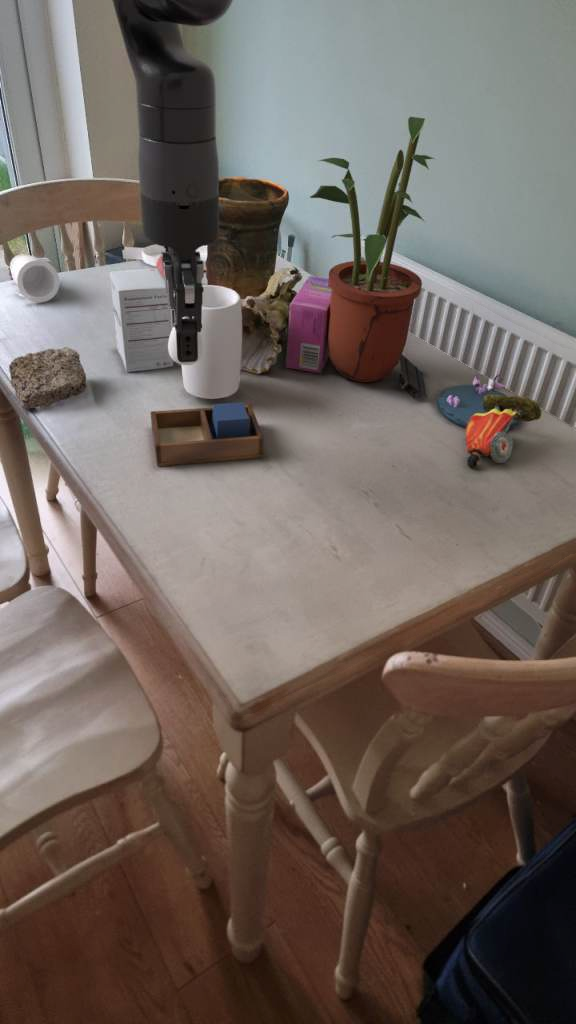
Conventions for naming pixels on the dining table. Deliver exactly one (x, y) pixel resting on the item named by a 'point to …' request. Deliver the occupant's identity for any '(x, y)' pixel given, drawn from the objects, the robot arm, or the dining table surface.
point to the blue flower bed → (467, 401)
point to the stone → (47, 377)
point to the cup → (217, 346)
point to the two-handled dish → (155, 254)
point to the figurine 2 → (497, 427)
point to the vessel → (246, 235)
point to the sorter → (200, 438)
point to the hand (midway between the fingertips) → (185, 350)
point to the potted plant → (373, 278)
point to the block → (230, 420)
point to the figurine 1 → (267, 321)
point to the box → (309, 326)
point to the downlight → (34, 277)
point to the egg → (173, 347)
